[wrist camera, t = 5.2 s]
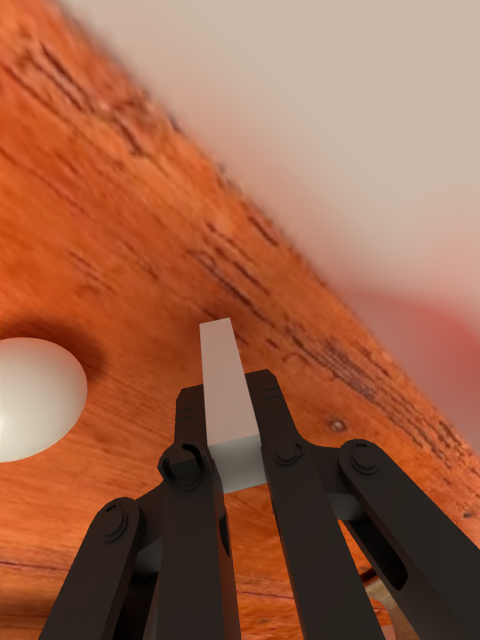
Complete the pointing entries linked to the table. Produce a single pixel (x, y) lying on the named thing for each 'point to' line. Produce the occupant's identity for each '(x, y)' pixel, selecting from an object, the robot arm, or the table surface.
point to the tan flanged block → (390, 609)
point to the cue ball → (37, 396)
